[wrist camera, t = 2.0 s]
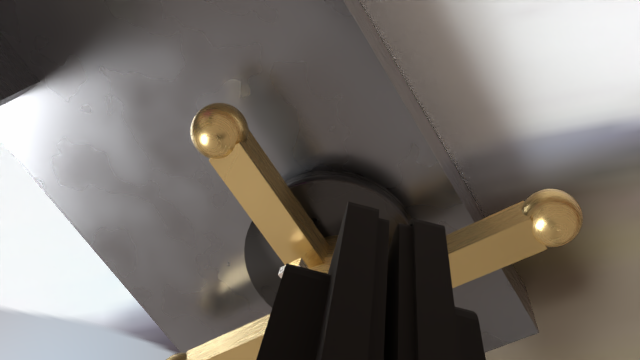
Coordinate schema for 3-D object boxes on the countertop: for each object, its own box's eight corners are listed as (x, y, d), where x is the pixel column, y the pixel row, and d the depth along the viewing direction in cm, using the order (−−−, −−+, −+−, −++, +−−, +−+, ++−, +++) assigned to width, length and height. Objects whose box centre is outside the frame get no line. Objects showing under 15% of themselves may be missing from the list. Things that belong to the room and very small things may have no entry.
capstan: (653, 351, 22) (698, 435, 19) (290, 472, 28) (273, 554, 24) (445, -52, 17) (454, -40, 14) (54, 192, 23) (-10, 245, 20)
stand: (525, 287, 26) (652, 709, 12) (266, 389, 30) (154, 776, 17) (235, -213, 19) (-164, -472, 6) (-37, 15, 24) (-610, 162, 10)
